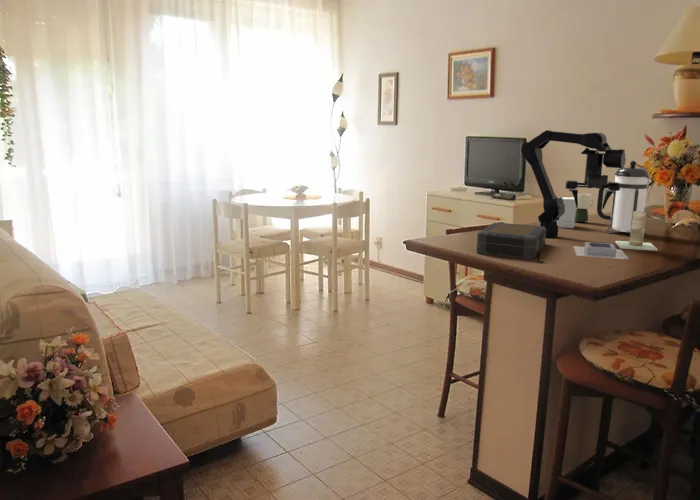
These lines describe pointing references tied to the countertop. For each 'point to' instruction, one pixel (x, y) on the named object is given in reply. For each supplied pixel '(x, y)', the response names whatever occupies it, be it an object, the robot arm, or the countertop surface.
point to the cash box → (511, 240)
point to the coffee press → (626, 197)
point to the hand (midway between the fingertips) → (589, 208)
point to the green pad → (627, 246)
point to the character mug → (583, 207)
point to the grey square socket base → (600, 250)
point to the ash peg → (637, 228)
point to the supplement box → (568, 213)
